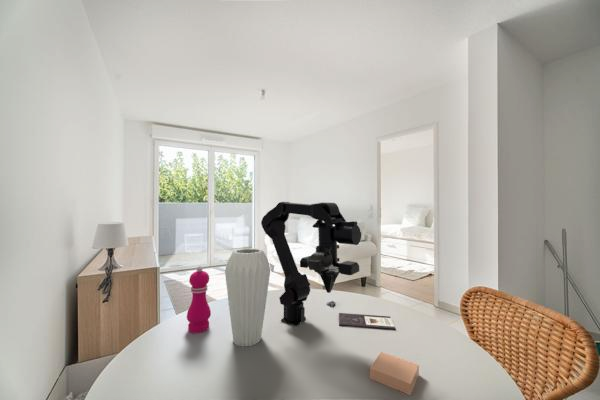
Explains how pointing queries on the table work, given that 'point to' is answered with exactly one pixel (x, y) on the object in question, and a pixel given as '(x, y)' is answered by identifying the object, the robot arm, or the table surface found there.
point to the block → (395, 372)
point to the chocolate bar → (366, 321)
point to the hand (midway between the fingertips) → (328, 292)
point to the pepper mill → (198, 302)
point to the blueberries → (331, 304)
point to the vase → (247, 294)
